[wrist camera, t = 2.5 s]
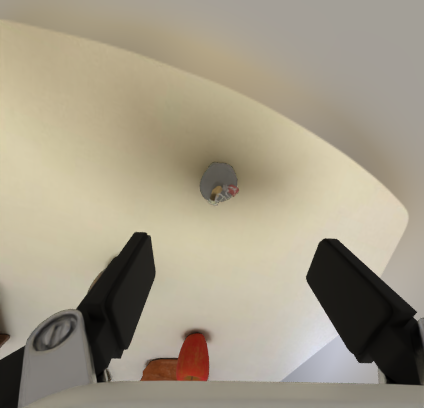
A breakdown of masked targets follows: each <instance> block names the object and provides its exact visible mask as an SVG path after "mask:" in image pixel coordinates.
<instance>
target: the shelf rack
mask: <svg viewBox="0 0 424 408" xmlns="http://www.w3.org/2000/svg"><path fill="white" fill-rule="evenodd" d="M9 338H10V336H9V335H5V334H0V348H1V347H2V345H3V344H4V343H5V342H6V341H7V340H8V339H9Z"/></svg>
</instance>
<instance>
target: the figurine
mask: <svg viewBox="0 0 424 408" xmlns="http://www.w3.org/2000/svg"><path fill="white" fill-rule="evenodd" d="M200 191H201V193H202V195H203V197H204V198H205V199H206V200H208V203H210V204H212V205H214V206H216V205H215V204H217V203H219V202H222V201H225V200H228V199H230V198H231V196H232V197H234V196H235V195H236V194H238V193H239V192H238V191H239V189H238V187H237V176H236V174H235V172H234V170H233V168H232V166H230V165H229V164H226V163H218V162H213V163H212V164H211V165H210V166H209V167H208V169H207V170H206V171H205V173H204V174H203V176H202V179H201V182H200ZM217 205H218V204H217Z"/></svg>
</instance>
